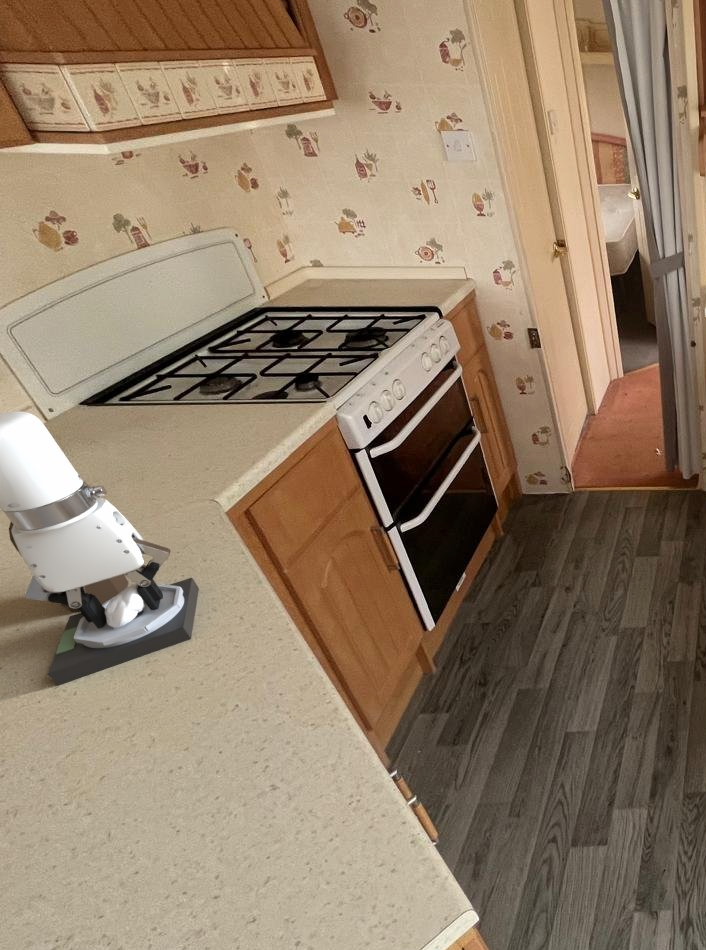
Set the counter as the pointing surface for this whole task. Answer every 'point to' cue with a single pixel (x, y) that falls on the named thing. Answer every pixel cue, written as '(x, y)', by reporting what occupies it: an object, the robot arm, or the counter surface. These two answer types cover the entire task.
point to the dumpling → (124, 607)
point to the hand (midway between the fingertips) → (129, 612)
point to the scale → (125, 635)
